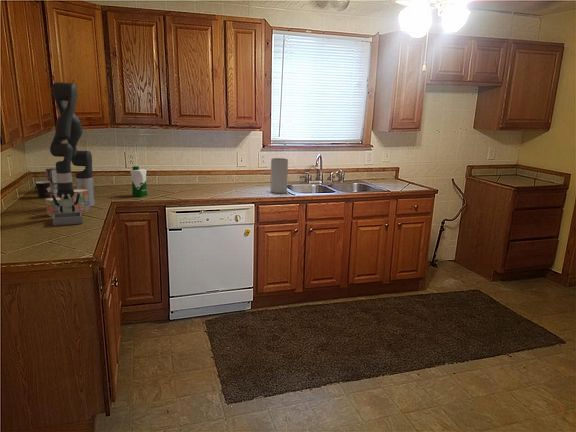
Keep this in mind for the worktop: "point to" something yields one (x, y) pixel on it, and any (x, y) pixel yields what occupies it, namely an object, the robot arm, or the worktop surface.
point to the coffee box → (52, 179)
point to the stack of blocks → (82, 203)
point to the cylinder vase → (279, 175)
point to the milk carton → (138, 182)
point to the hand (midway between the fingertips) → (67, 212)
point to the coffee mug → (43, 189)
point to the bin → (67, 218)
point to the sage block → (66, 205)
